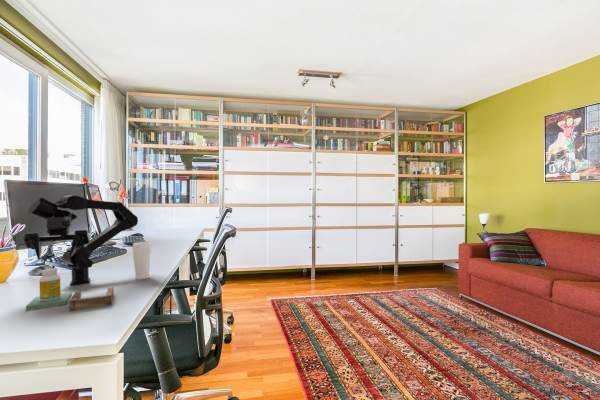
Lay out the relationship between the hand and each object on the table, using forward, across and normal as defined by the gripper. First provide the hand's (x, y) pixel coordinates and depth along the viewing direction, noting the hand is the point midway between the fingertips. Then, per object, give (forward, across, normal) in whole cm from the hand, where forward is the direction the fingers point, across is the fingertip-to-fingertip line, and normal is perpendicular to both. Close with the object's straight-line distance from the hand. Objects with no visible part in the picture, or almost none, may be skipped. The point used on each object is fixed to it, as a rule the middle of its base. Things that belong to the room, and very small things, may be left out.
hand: (54, 257), depth 112 cm
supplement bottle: (+14, 0, +3) cm, 15 cm away
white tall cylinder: (+2, +28, +17) cm, 32 cm away
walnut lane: (+21, +13, -2) cm, 25 cm away
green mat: (+15, 0, +4) cm, 16 cm away
